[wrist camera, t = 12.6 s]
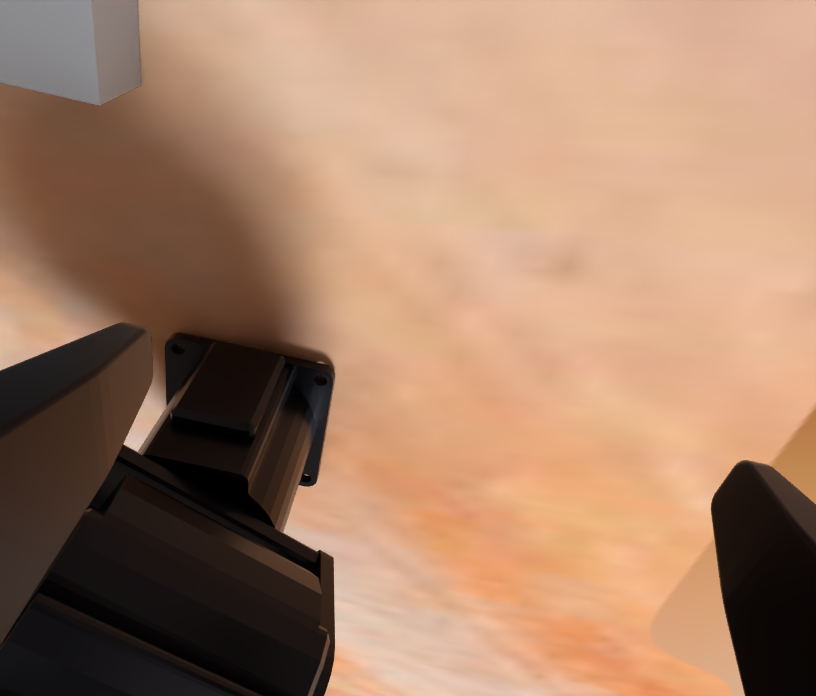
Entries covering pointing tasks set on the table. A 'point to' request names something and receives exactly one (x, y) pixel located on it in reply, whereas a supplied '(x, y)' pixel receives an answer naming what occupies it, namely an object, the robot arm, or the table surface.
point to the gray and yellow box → (71, 47)
